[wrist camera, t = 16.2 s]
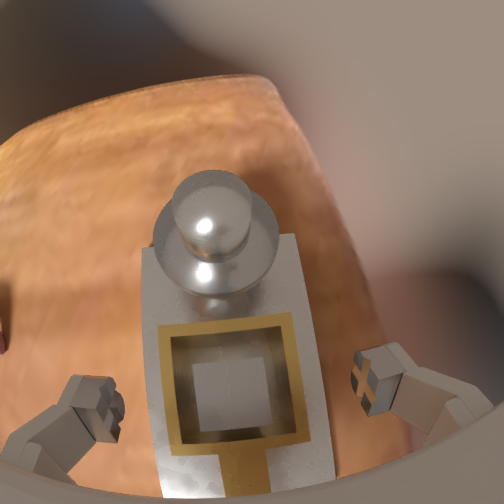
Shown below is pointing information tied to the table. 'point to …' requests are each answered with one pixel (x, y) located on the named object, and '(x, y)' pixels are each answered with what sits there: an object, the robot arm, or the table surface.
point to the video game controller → (2, 344)
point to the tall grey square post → (232, 394)
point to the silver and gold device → (230, 343)
